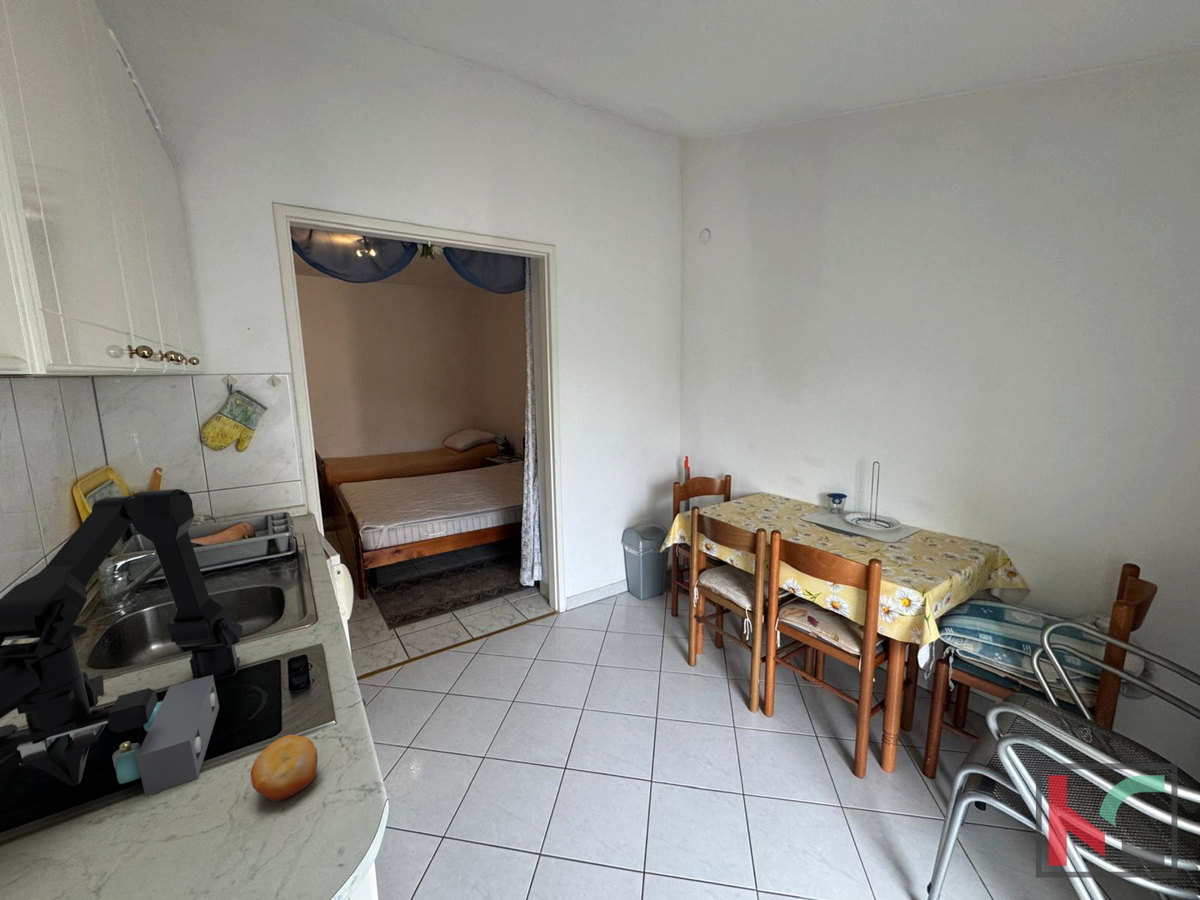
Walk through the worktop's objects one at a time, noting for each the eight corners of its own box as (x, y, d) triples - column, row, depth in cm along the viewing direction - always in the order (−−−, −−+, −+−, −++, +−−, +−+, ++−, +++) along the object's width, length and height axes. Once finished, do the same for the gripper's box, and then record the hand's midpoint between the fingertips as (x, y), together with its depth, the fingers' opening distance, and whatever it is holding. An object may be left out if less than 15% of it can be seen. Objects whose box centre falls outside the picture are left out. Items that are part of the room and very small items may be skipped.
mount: (219, 707, 90) (213, 674, 89) (197, 778, 74) (189, 740, 73) (176, 719, 87) (169, 686, 86) (145, 796, 72) (136, 756, 70)
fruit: (306, 742, 79) (308, 716, 75) (323, 789, 75) (325, 765, 71) (245, 772, 73) (243, 746, 69) (259, 825, 69) (258, 801, 65)
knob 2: (204, 747, 79) (199, 724, 78) (198, 764, 75) (193, 741, 74) (129, 770, 74) (124, 747, 74) (120, 790, 71) (114, 766, 70)
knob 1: (217, 702, 89) (213, 682, 88) (213, 716, 85) (209, 695, 85) (153, 721, 85) (148, 700, 84) (145, 736, 81) (141, 714, 81)
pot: (146, 753, 80) (141, 733, 79) (140, 767, 77) (135, 746, 76) (119, 762, 78) (114, 741, 77) (112, 776, 75) (107, 755, 75)
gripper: (157, 634, 79) (175, 722, 81) (-16, 673, 70) (11, 771, 72) (135, 671, 69) (156, 769, 72) (-69, 722, 60) (-36, 832, 63)
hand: (76, 782), depth 70 cm, fingers closed
